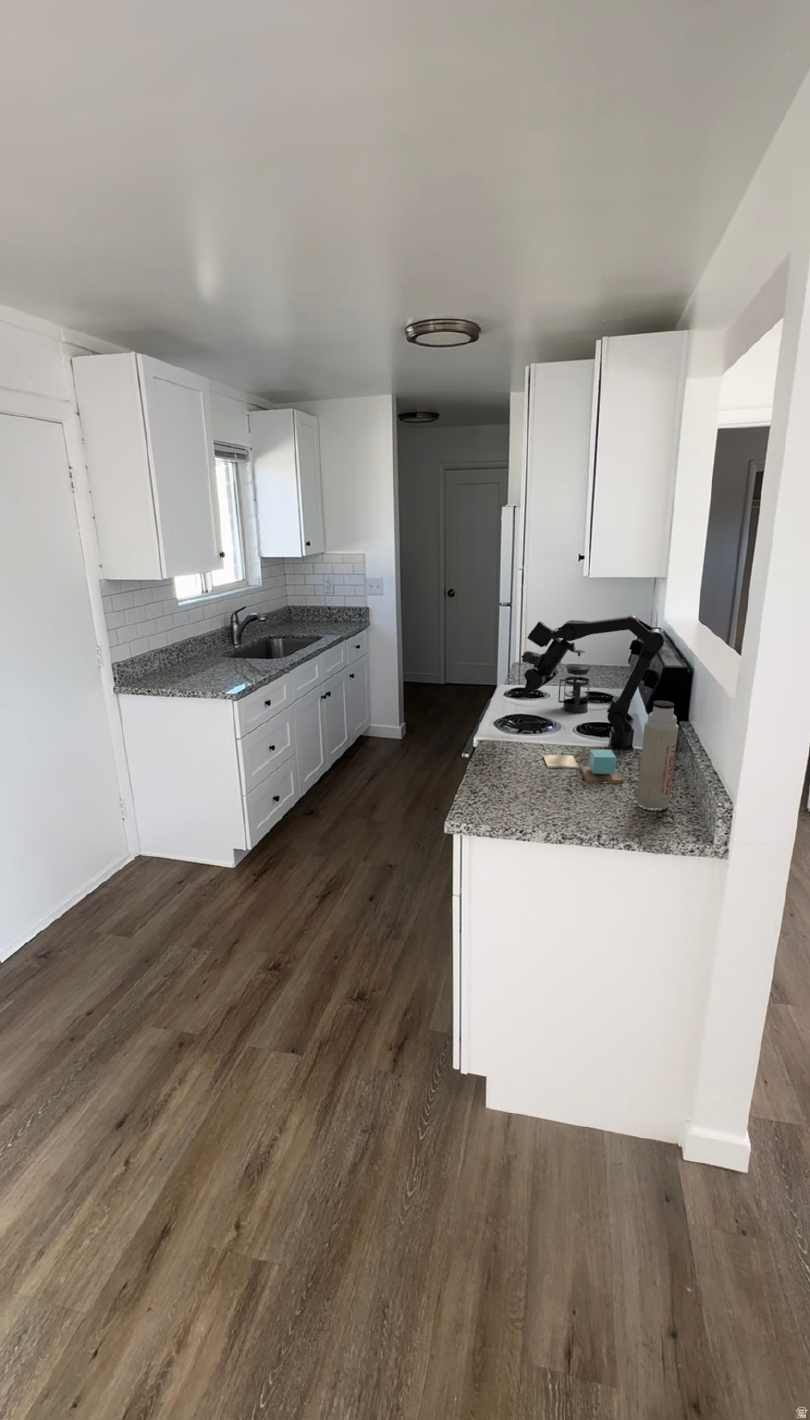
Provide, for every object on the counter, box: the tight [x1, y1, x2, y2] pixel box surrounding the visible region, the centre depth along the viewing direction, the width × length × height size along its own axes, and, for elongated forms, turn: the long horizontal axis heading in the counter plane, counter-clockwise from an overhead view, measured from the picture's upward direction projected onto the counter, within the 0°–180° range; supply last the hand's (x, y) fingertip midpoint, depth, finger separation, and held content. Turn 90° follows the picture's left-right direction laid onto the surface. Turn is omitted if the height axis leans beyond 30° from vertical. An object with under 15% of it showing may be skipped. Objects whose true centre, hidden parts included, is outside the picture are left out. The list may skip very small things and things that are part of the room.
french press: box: [557, 649, 591, 715], centre depth 250 cm, size 12×9×23 cm
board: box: [542, 754, 579, 769], centre depth 203 cm, size 9×9×1 cm
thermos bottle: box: [636, 700, 680, 808], centre depth 170 cm, size 8×8×28 cm
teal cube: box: [588, 749, 617, 774], centre depth 192 cm, size 6×6×5 cm
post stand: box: [579, 765, 624, 784], centre depth 192 cm, size 10×10×6 cm
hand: (528, 693), depth 223 cm, fingers open, 9 cm apart
